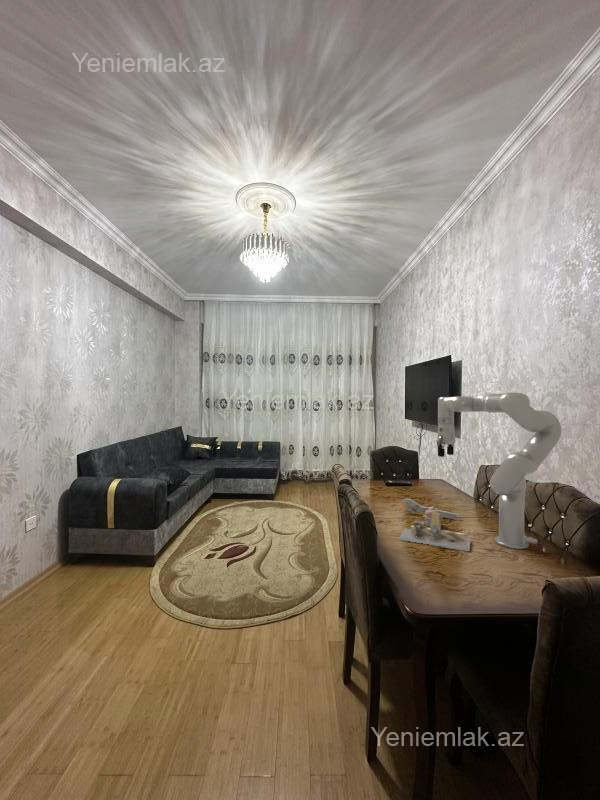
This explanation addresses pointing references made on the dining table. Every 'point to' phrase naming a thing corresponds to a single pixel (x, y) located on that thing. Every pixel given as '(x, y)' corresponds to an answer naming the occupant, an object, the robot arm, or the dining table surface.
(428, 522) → the cupcake
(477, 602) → the dining table surface
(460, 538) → the sliding bolt bar
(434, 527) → the block
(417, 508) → the wrench
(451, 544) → the bolt plate
